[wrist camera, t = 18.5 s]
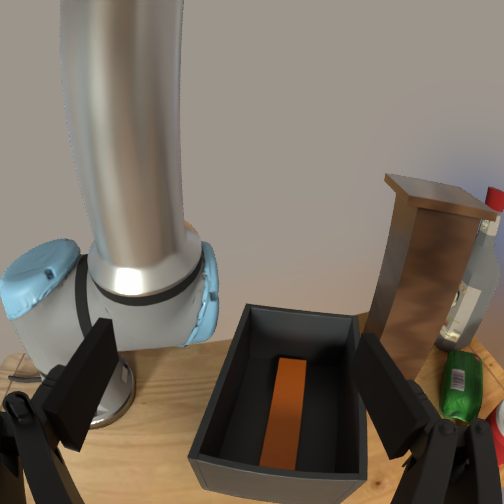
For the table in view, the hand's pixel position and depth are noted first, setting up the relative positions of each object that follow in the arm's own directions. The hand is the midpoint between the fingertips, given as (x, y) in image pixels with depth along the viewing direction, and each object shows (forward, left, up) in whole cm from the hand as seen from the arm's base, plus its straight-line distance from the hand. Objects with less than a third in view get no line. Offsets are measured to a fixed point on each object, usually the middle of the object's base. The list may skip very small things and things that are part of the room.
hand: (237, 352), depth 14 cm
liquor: (+34, +31, -25) cm, 53 cm away
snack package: (+31, +16, -25) cm, 43 cm away
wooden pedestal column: (+17, +20, -25) cm, 37 cm away
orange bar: (+3, +10, -24) cm, 26 cm away
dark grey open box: (+3, +10, -25) cm, 27 cm away
